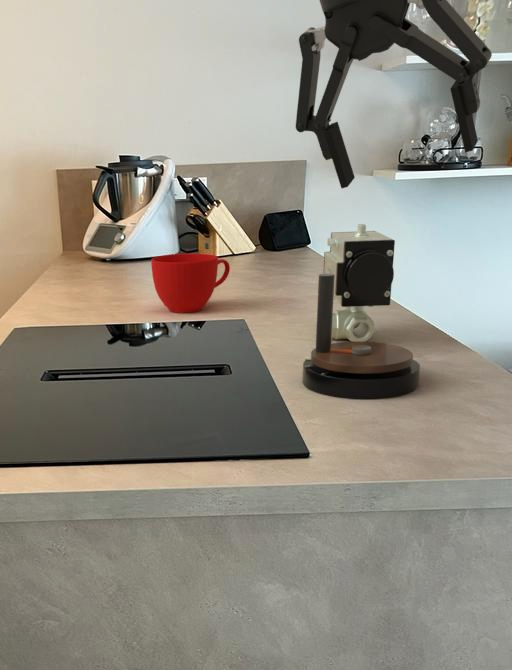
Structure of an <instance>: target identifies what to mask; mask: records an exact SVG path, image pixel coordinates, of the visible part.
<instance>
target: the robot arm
mask: <svg viewBox="0 0 512 670" xmlns="http://www.w3.org/2000/svg"><path fill="white" fill-rule="evenodd" d="M411 3H412V4H414V5H416V7H417V8H418V9H421V10H422V9H424V10H426V13H427V14H428V16H429V17H430V18H431V19H432V21H434V23H435V24H436V25H437V26H438V27H439V28H440V30H441V31H442V32H443V33H444V34H445V35H446V37H448V39H449V40H450V41H451V42H452V44H453V45H454V46H455V47H456V48H457V50H459V51H460V52H461V54H462V55H463V56H464V57H465V58H464V57H462V56H461V55H460V54H458V53H456V52H455V51H453V50H452V49H451V48H449V47H447V46H446V45H444V44H443V43H441V42H439V41H438V40H437V39H435V38H433V37H431V36H430V35H429V34H427V33H425V32H424V31H422V30H421V29H420V28H419V26H417V25H416V24H415V23H414V22H412V21H410V20H409V19H407V17H406V16H407V14H408V11H409V8H410V5H411ZM319 4H320V7H321V10H322V13H323V15H324V19H325V24H324V26H321V27H317V28H316V27H309V28H307V29H306V30H305V31H304V32H302V34H300V36H299V37H298V44H299V48H300V53H301V58H302V59H301V68H300V79H299V89H298V90H299V91H298V97H297V98H298V99H297V108H296V117H295V118H296V119H295V130H296V131H297V132H298V133H304V132H312V133H314V134H315V136H316V138H317V142H318V145H319V148H320V151H321V154H322V157H323V158H324V159H325V160H326V161H329V160H332V163H333V166H334V170H335V173H336V176H337V179H338V182H339V186H340V188H341V189H345V188H346V189H347V188H348V187H349V186H350V184H351V183H352V182H353V181H354V179H355V178H356V177H355V174H354V170H353V167H352V164H351V160H350V158H349V154H348V151H347V147H346V144H345V142H344V138H343V135H342V131H341V128H340V125H339V122H338V121H335V122H332V123H331V124H330V122H331V121H332V116H333V113H334V110H335V108H336V106H337V102H338V100H339V97H340V94H341V92H342V89H343V87H344V84H345V81H346V79H347V77H348V73H349V71H350V68H351V65H352V63H353V62H354V60H357V61H358V62H360V61H363V60H365V59H368V58H369V57H370V56H371V55H373V54H379V53H383V52H385V51H388V50H390V49H391V48H392V46H394V44H395V45H397V46H399V47H400V48H402V49H406V50H408V51H410V52H411V53H413V54H414V55H416V56H417V57H419V58H420V59H422V60H424V61H425V62H427V63H428V64H430V65H431V66H433V67H435V68H436V69H438V70H439V71H441V72H442V73H444V74H445V75H447V76H449V77H450V78H452V79H453V80H454V82H453V84H452V86H451V87H450V93H451V98H452V102H453V107H454V111H455V116H456V120H457V124H458V128H459V132H460V136H461V141H462V146H463V149H464V153H469V152H473V151H474V149H475V147H476V145H477V143H478V142H479V139H478V135H477V130H476V126H475V121H474V117H473V114H475V113H477V112H478V111H479V109H480V105H481V99H480V94H479V90H478V85H477V81H476V80H477V79H476V74H477V73H479V72H480V71H481V70H483V69H484V68H486V66H488V63H489V62H490V60H491V58H492V56H493V54H492V51H491V49H490V48H489V47H488V46H487V44H486V43H484V41H483V40H482V39H481V38H480V37H479V35H478V34H477V33H476V32H475V31H474V30H473V29H472V28H471V27H470V25H469V24H468V23H467V22H466V21H465V20H464V19H463V17H462V16H461V14H459V12H457V10H456V9H455V8H454V7H453V6H452V5H451V4H450V2H449V1H448V0H319ZM326 40H327V41H328V42H329V43H331V44H332V45H334V47H336V48H337V49H338V50H337V53H336V55H335V59H334V62H333V64H332V70H331V73H330V75H329V78H328V81H327V83H326V86H325V89H324V92H323V95H322V98H321V100H320V103H319V105H318V108H317V111H316V114H315V107H316V98H317V89H318V81H319V72H320V65H321V64H320V63H321V56H322V55H321V51H322V50H323V49H324V47H325V41H326Z"/></svg>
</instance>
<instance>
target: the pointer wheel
mask: <svg viewBox="0 0 512 670" xmlns="http://www.w3.org/2000/svg"><path fill="white" fill-rule="evenodd" d="M334 278H335V275H334V274H323V273H320V274H318V281H317V283H318V284H317V285H318V286H317V306H316V307H317V308H316V313H317V314H316V330H315V331H316V333H315V334H316V335H315V348H313V349H312V350H311V352H310V357H311V362H312V363H313V364H314V365H316V366H318V367H321V368H323V369H327V370H332V371H337V372H345V373H360V374H371V373H386V372H393V371H398V370H402V369H405V368H407V367H409V366H410V365H411V364H412V361H413V360H414V354H413V352H412V351H411V350H410V349H408V348H405V347H403V346H400V345H395V344H392V343H385V342H375V341H365V342H352V341H343V342H342V341H341V342H333V343H332V338H333V337H332V318H333V313H334V299H335V298H334Z"/></svg>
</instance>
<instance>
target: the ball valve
mask: <svg viewBox="0 0 512 670" xmlns="http://www.w3.org/2000/svg"><path fill="white" fill-rule="evenodd" d="M326 242H327V243H326V244H327V246H328V247H329V250H330V251H324V254H323V272H322V274H334V275H335V278H334V298H333V299H335V301H337V302H338V304H339V305H340V307H342V308H344V309H342V310H341V309H338V310H335V312H333V318H332V338H334V340H349V342H368V340H370V339H371V338H372V336H373V335H374V331H375V323H374V320H373V319H372V318H371V316H370V315H369V314H367V312H366V311H364V309H365V308H364V307H369V308H373V307H378V306H380V307H381V306H382V307H383V306H391V297H392V285H393V281H394V277H395V270H394V257H395V247H396V246H395V245H396V243H395V242H396V240H395V239H393V238H391V237H389V236H387V235H385V234H383V233H381V232H378V231H376V230H367V225H366V224H365V223H358V224H357V231H337V232H336V231H335V232H334V231H331V233H330V237H327V241H326Z"/></svg>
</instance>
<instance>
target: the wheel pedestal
mask: <svg viewBox="0 0 512 670" xmlns="http://www.w3.org/2000/svg"><path fill="white" fill-rule="evenodd" d="M420 371H421V365H420V363H419V362H418V361H417V360H415V359H413V361H412V364H411V365H410V366H409V367H407V368H405V369H402V370H398V371H393V372H386V373H371V374H360V373H345V372H337V371H332V370H327V369H323V368H321V367H318V366H316V365H314V364H313V363H312V362H311V356H306V357H304V361H303V363H302V385H303V386H304V387H305V388H306V389H308V390H310V391H312V392H315V393H318V394H322V395H325V396H329V397H335V398H341V399H342V398H343V399H350V400H351V399H352V400H353V399H354V400H377V399H379V400H380V399H390V398H396V397H400V396H403V395H404V396H405V395H407V394H410V393H413V392H414V391H416V390H417V389H418V387H419V382H420Z"/></svg>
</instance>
